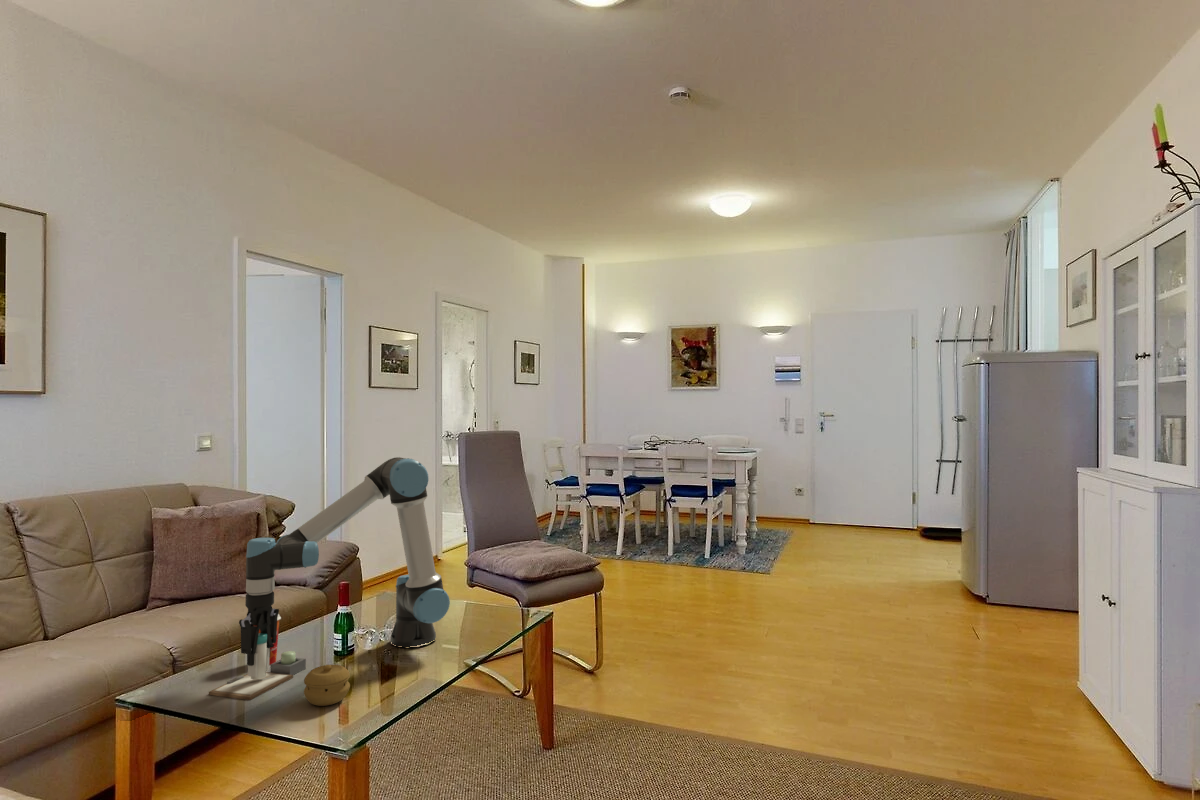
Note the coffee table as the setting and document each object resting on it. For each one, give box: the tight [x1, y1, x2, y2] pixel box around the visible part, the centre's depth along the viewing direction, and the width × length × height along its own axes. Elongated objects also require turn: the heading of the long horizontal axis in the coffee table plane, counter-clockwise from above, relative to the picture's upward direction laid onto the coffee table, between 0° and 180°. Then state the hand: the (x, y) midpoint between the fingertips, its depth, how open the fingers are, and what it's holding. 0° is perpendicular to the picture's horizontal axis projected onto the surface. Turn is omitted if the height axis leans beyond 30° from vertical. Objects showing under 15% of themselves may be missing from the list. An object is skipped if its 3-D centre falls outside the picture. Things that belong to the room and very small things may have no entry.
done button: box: [280, 650, 297, 665], centre depth 212 cm, size 4×4×4 cm
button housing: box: [269, 657, 307, 676], centre depth 212 cm, size 7×7×3 cm
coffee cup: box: [259, 613, 282, 666], centre depth 220 cm, size 8×8×15 cm
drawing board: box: [208, 671, 294, 701], centre depth 201 cm, size 14×17×2 cm
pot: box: [303, 664, 351, 707], centre depth 190 cm, size 12×12×10 cm
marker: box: [251, 633, 267, 679], centre depth 202 cm, size 4×4×12 cm
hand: (258, 673), depth 202 cm, fingers closed on marker, 4 cm apart
